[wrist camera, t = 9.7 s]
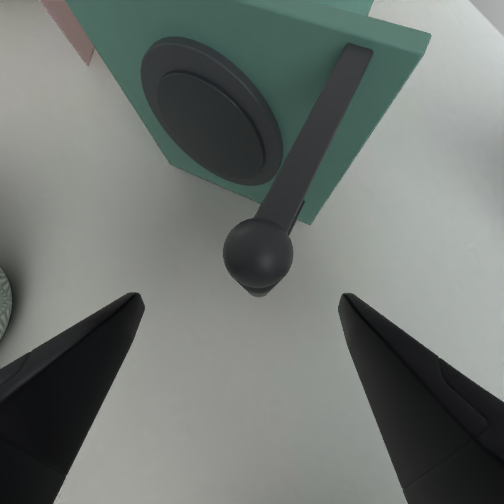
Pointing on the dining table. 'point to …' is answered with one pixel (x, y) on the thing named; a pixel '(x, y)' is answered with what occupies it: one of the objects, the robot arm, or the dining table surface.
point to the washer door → (255, 101)
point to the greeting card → (70, 27)
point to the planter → (4, 302)
